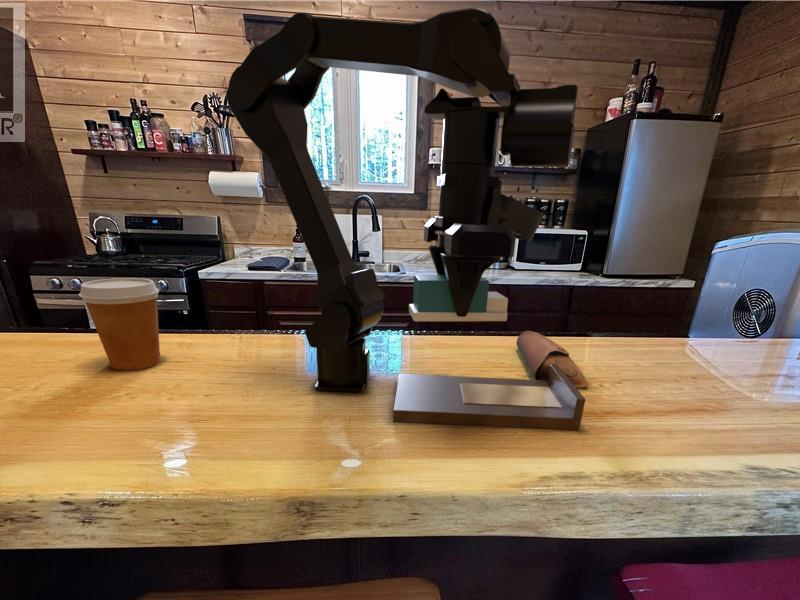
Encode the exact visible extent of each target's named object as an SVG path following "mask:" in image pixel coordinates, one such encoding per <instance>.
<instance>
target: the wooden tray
mask: <svg viewBox="0 0 800 600" xmlns="http://www.w3.org/2000/svg"><path fill="white" fill-rule="evenodd" d="M585 404H586V398H585V397H584V396H583V394H582V393H581V391H579V390H578V388H576V387H575V386H574V385H573V384H572V382H571V381H570V380H569V379H568V377H567V376H566V375H565V374H564V373H563V371H562V370H561V369H560V368H559V367H558V365H557V364H550V365H549V371H548V377H547V380H535V379H527V378H526V379H524V378H506V377H505V378H501V377H483V376H481V377H479V376H459V375H458V376H457V375H440V374H439V375H438V374H437V375H436V374H420V373H419V374H416V373H415V374H414V373H399V374H398V379H397V386H396V392H395V397H394V403H393V409H392V422H400V423H420V424H421V423H423V424H425V423H426V424H441V425H442V424H444V425H465V426H488V427H507V428H528V429H547V430H571V431H579V430H580V427H581V423H582V418H583V414H584V408H585Z"/></svg>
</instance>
